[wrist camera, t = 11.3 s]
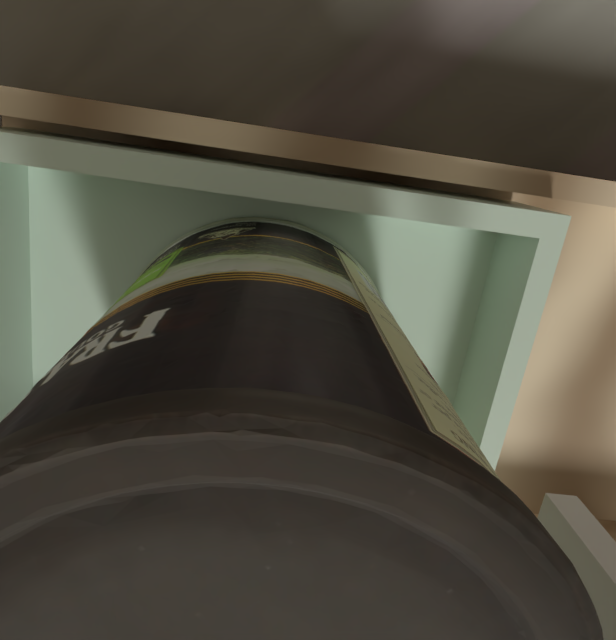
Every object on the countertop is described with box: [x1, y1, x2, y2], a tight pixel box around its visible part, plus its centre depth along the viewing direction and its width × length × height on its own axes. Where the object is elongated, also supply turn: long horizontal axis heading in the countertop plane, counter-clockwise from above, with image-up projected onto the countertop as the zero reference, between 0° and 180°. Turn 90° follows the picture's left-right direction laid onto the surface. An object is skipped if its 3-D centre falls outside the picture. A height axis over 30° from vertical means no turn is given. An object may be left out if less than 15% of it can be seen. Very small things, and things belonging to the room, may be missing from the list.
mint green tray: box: [0, 126, 572, 471], centre depth 19 cm, size 18×14×4 cm
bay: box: [0, 85, 616, 542], centre depth 20 cm, size 37×16×6 cm, turn 82°
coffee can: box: [0, 217, 604, 640], centre depth 13 cm, size 10×10×14 cm
